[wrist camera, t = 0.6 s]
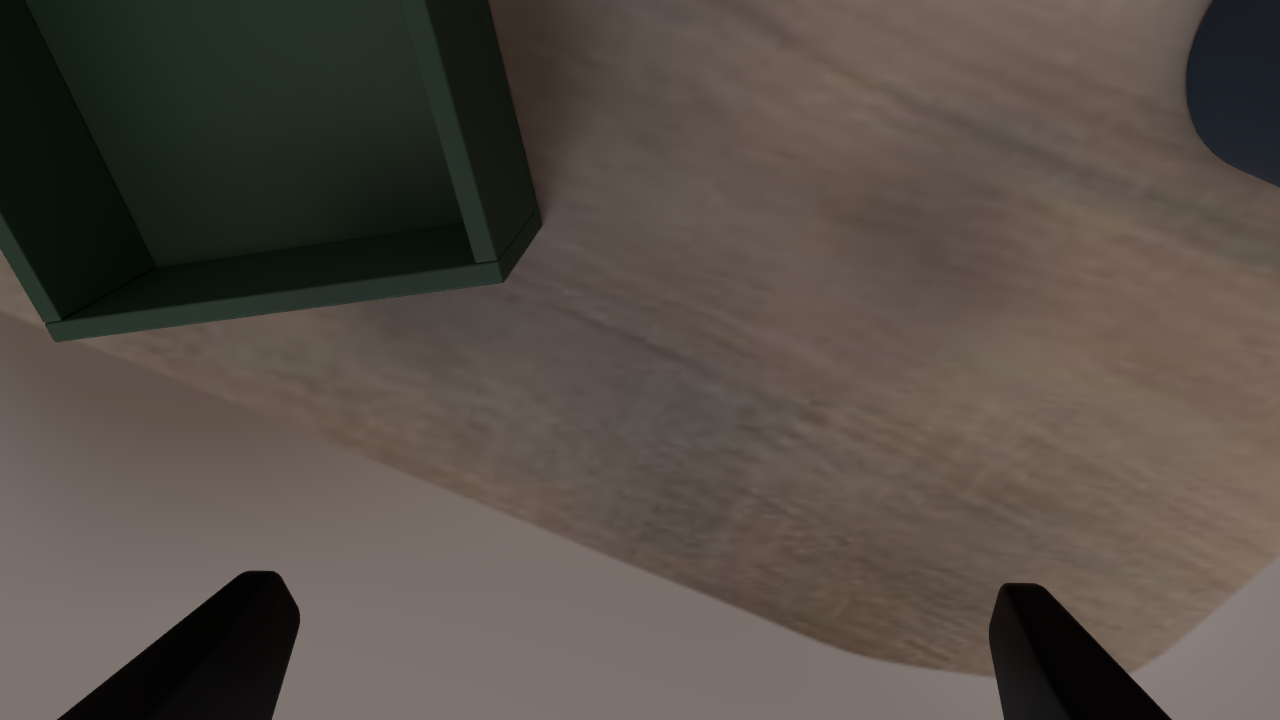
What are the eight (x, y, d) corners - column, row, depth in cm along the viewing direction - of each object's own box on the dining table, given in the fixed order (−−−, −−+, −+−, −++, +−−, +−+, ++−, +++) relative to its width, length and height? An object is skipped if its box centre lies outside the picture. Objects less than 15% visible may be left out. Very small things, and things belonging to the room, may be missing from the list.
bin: (543, 225, 23) (504, 283, 19) (159, 281, 25) (54, 343, 21) (404, -342, 17) (306, -428, 13) (-81, -202, 19) (-288, -239, 15)
